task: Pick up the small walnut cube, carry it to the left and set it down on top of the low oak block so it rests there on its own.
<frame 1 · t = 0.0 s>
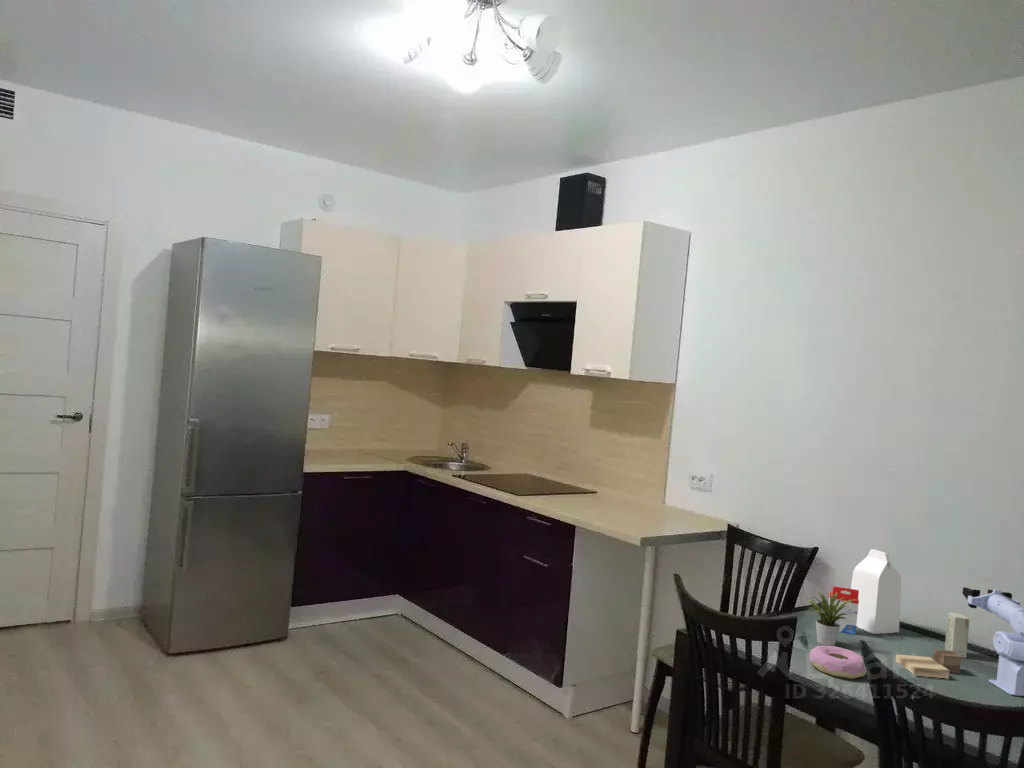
hand: (976, 591, 230), 22 cm above the table, tool horizontal, fingers open, 7 cm apart
ink box: (840, 630, 251), on the table
milk: (871, 627, 258), on the table
skincare box: (955, 654, 238), on the table
donut: (837, 671, 213), on the table
oak block: (921, 672, 219), on the table
walnut cube: (945, 669, 222), on the table
house plant: (829, 643, 237), on the table
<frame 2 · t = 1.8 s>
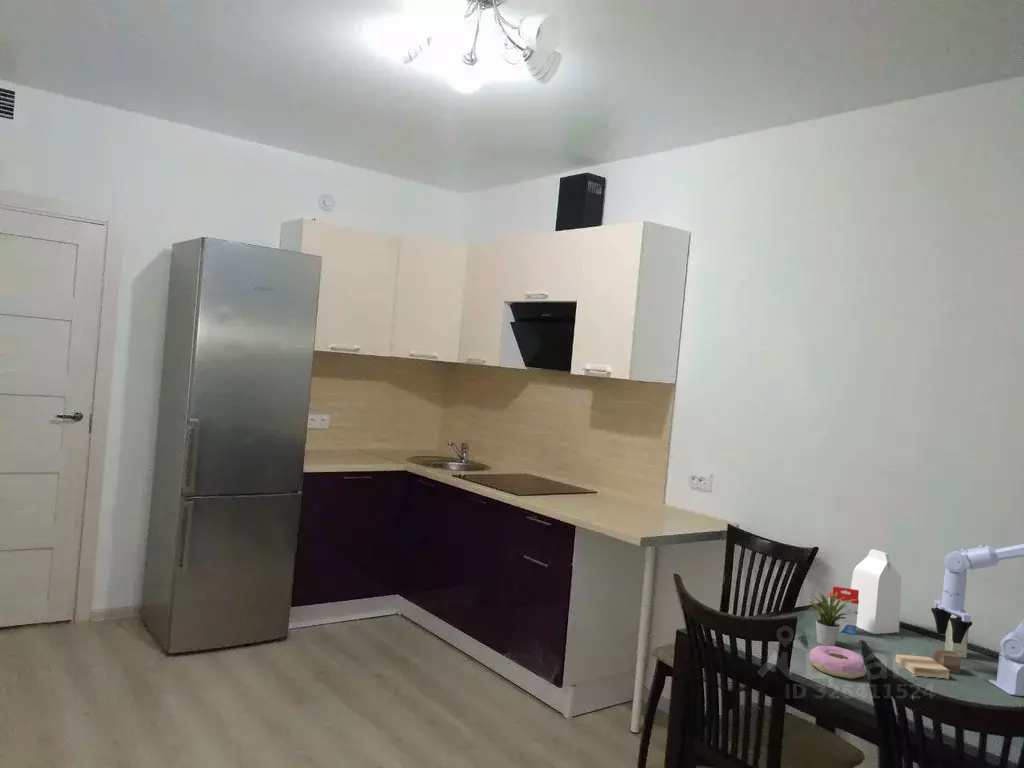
hand: (948, 638, 222), 9 cm above the table, tool pointing down, fingers open, 7 cm apart
nothing on the table moved.
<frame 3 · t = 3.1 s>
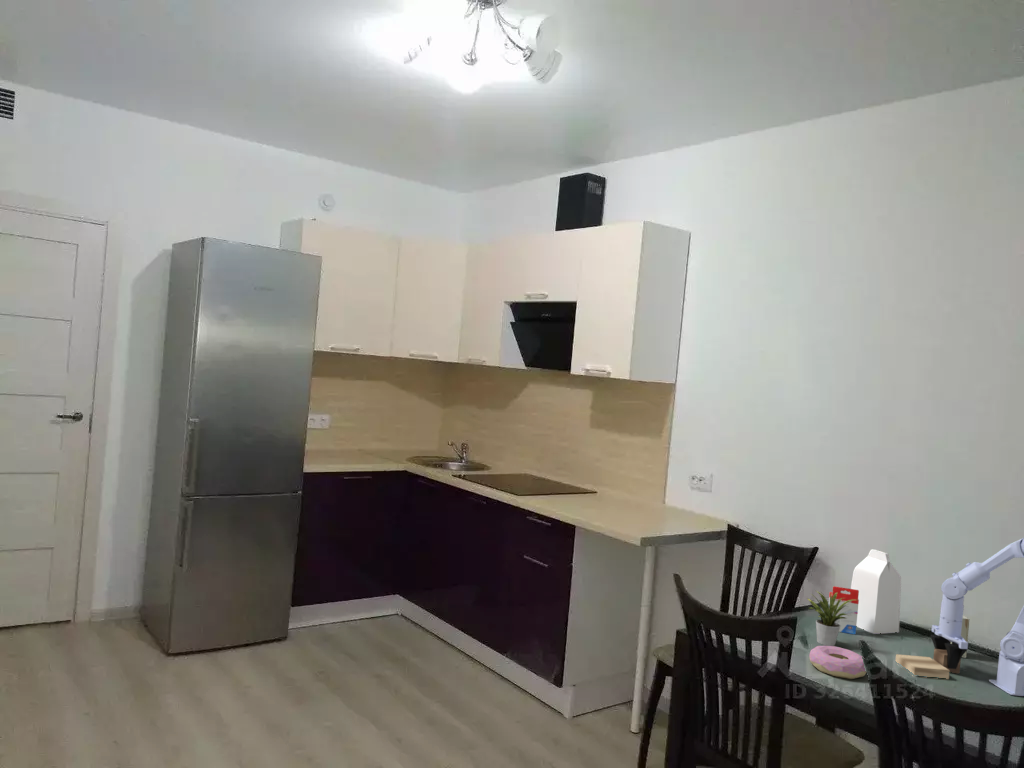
hand: (946, 664, 222), 1 cm above the table, tool pointing down, fingers closed on walnut cube, 5 cm apart
walnut cube: (945, 669, 222), on the table, touching gripper
everything else where it was.
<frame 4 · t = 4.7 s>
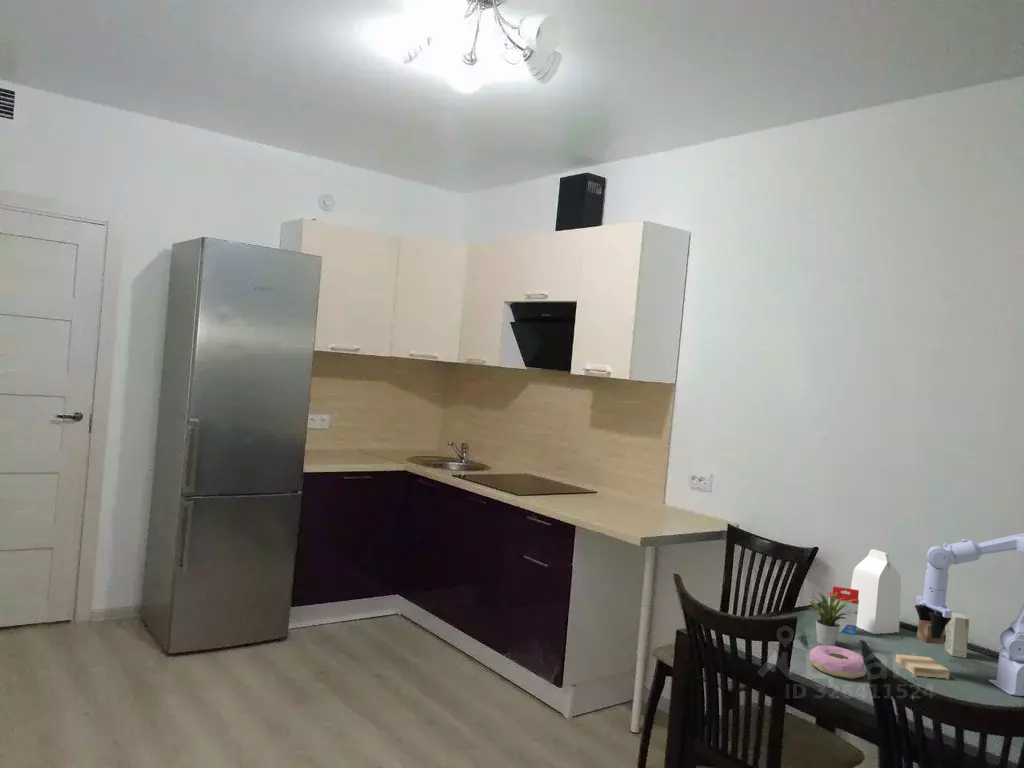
hand: (930, 634, 220), 11 cm above the table, tool pointing down, fingers closed on walnut cube, 5 cm apart
walnut cube: (930, 640, 220), point 9 cm above the table, touching gripper
everything else where it was.
when the fingers open (5 cm above the table, at t = 6.4 s): walnut cube stays where it is, resting on oak block.
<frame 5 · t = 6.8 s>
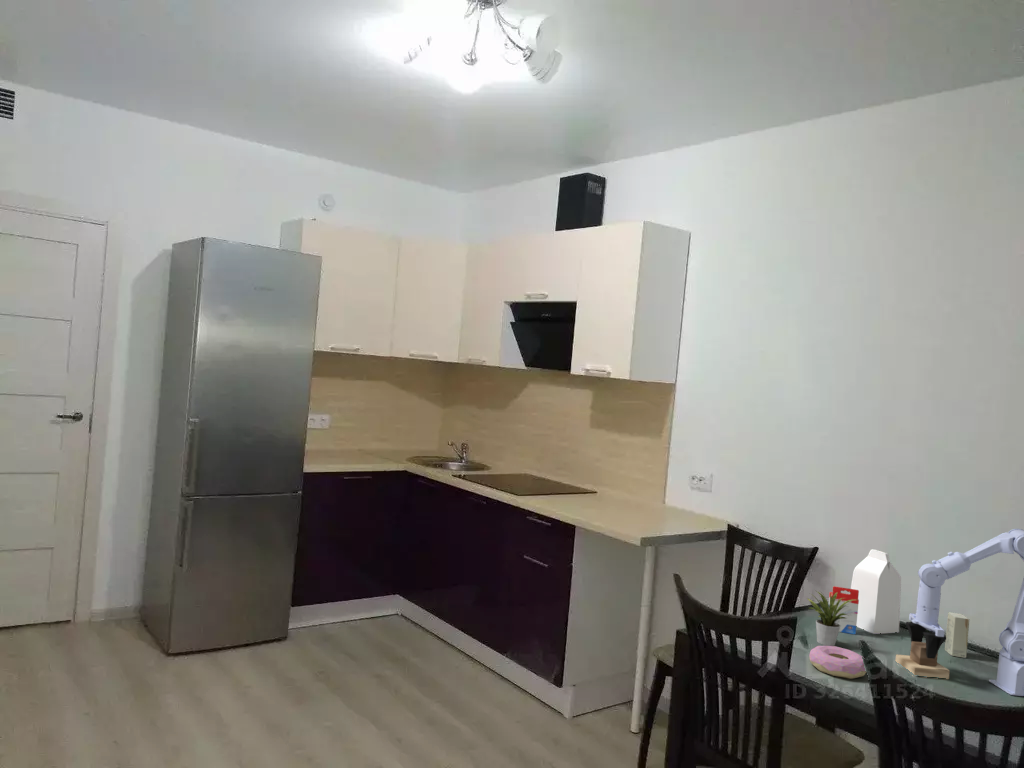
hand: (923, 652, 219), 5 cm above the table, tool pointing down, fingers open, 7 cm apart
oak block: (921, 672, 219), on the table, touching walnut cube
walnut cube: (923, 662, 219), point 2 cm above the table, touching oak block
everything else where it was.
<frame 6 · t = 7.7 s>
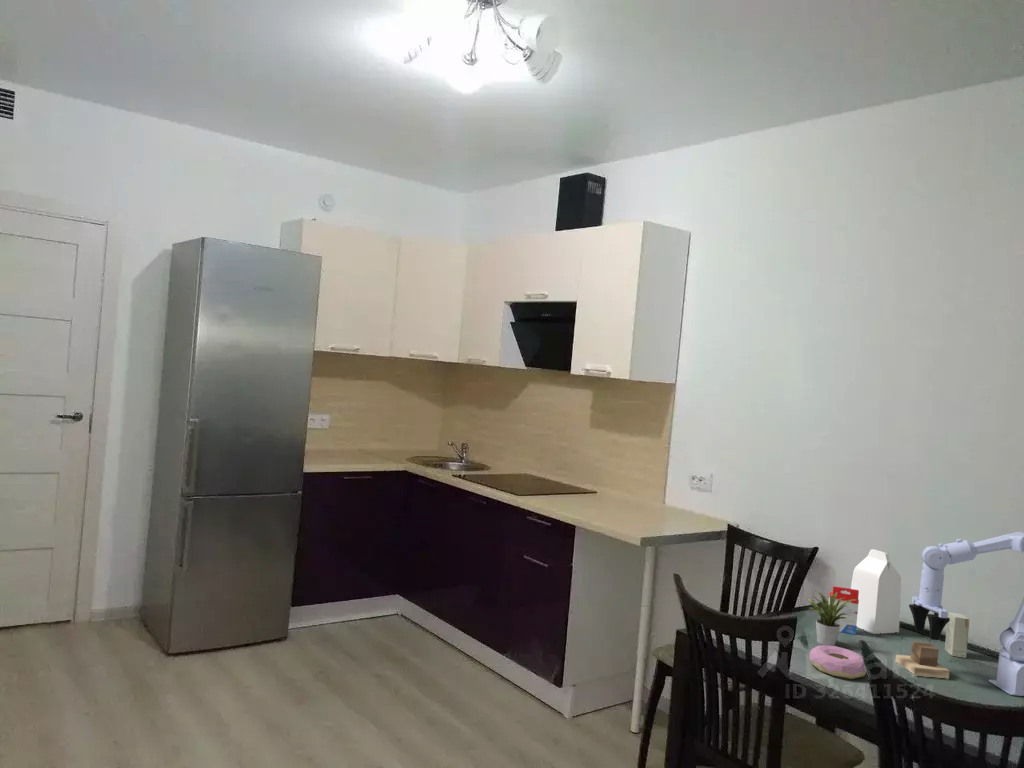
hand: (926, 634, 219), 10 cm above the table, tool pointing down, fingers open, 7 cm apart
oak block: (921, 672, 219), on the table
walnut cube: (923, 662, 219), point 2 cm above the table
everything else where it was.
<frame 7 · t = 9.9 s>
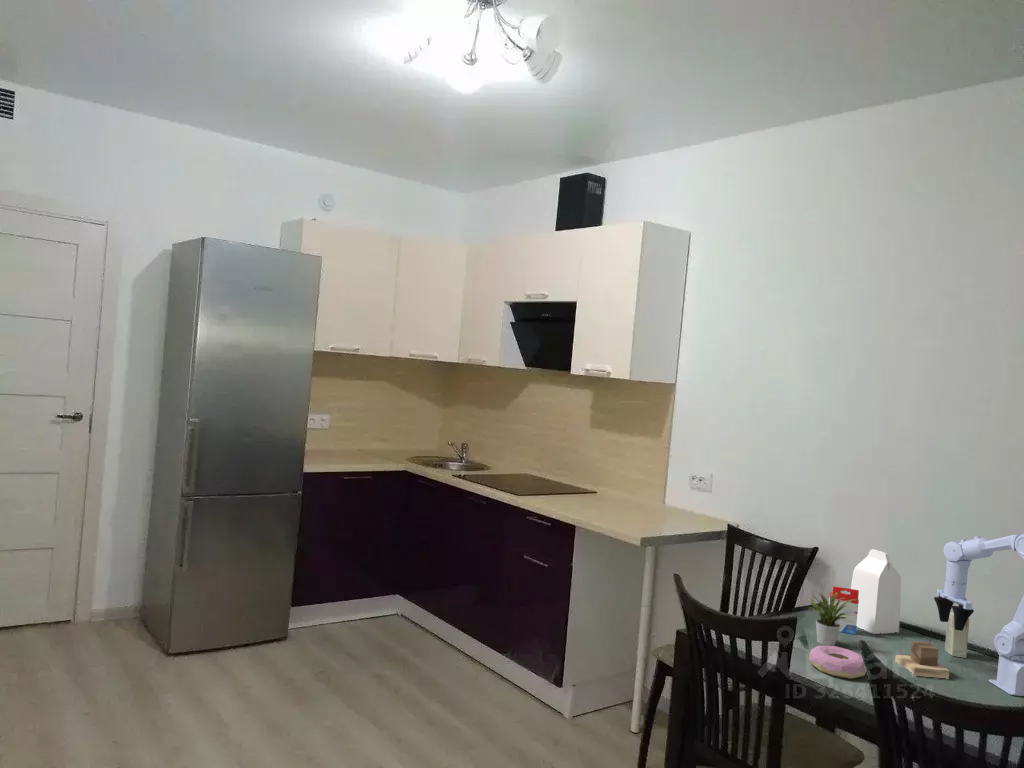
hand: (951, 625, 231), 10 cm above the table, tool pointing down, fingers open, 7 cm apart
nothing on the table moved.
at the end: walnut cube inside the target area on the oak block (0.7 cm from its centre), point 3.0 cm above the oak block's base; walnut cube tilted 0°; the gripper is holding nothing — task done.
